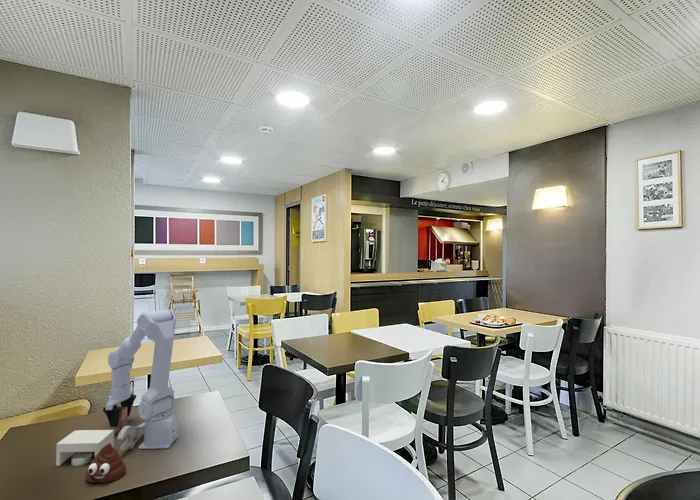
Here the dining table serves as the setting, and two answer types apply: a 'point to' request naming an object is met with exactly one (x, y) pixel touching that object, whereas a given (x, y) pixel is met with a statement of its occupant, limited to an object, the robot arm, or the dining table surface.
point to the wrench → (130, 435)
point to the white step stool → (83, 443)
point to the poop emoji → (105, 466)
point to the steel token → (81, 458)
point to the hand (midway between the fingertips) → (120, 421)
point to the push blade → (121, 422)
